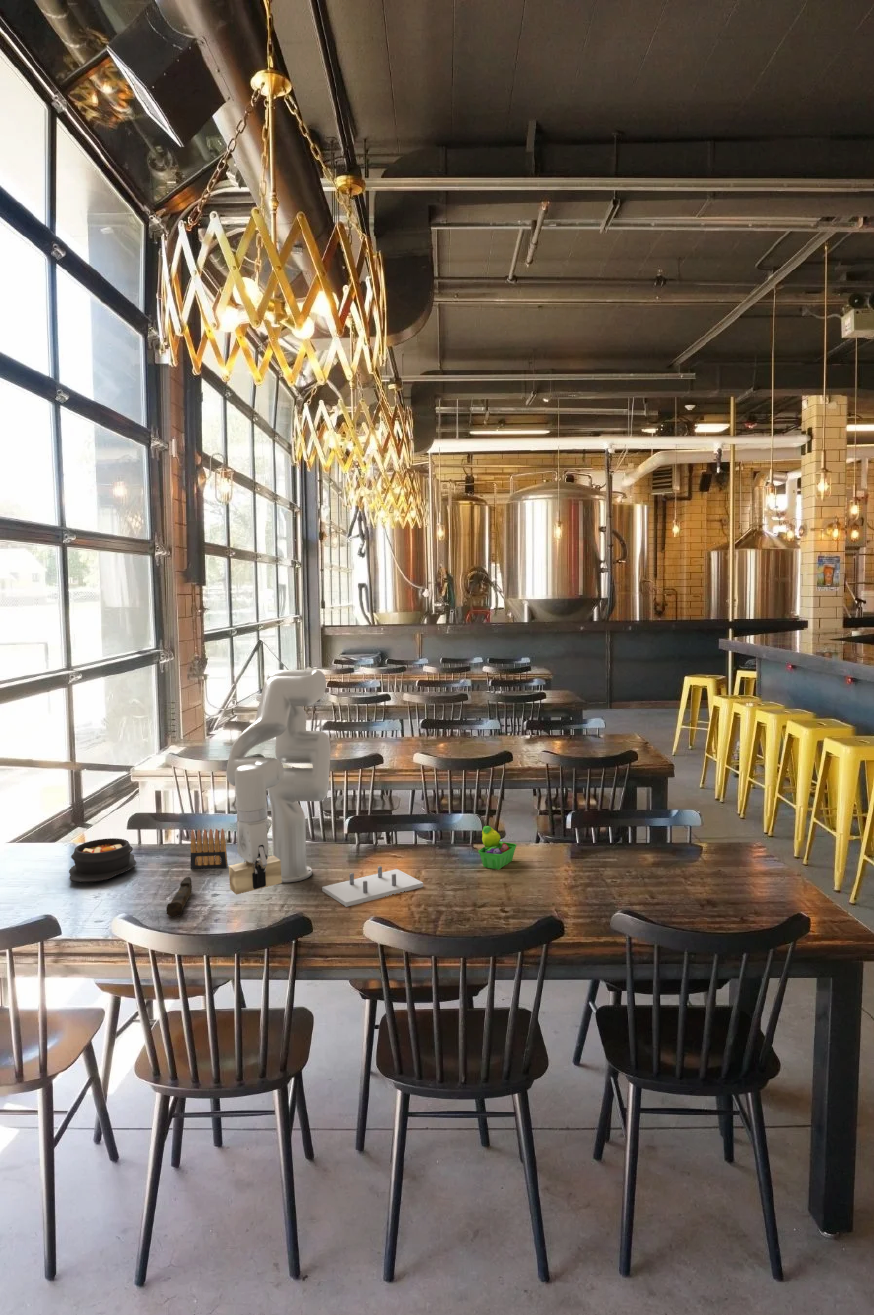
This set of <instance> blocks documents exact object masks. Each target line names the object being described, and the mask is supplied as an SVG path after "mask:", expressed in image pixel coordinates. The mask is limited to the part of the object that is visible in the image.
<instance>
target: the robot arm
mask: <svg viewBox="0 0 874 1315" xmlns="http://www.w3.org/2000/svg"><path fill="white" fill-rule="evenodd" d="M326 688H327V680H326V676H325V674H324V672H322V671H321V670H319V669H278V670H275V671H272V672H270V673H268V675H267V677H266V680H265V682H264V684H263V687H262V690H261V695H260V698H259V699H260V700H259V702H258V703H259V704H258V707H257V710H256V717H255V720H254V722H253V723H252V724H250V725H249V726H248V727H247V728H245V729H244V730H243V731H242V732H241V733H240V734H239V735H238V737H237V738H236V739H235V740H234V742H233V743H232V746H231V749H230V752H229V756H228V759H227V760H228V761H227V765H226V770H225V771H226V772H225V775H226V779H227V782H228V783H229V784H230V785H232V786H234V788H235V789H234V790H235V803H236V804H235V806H236V808H235V809H236V823H237V829H236V830H237V834H236V835H237V837H236V842H237V843H236V844H237V845H236V846H237V847H236V848H237V853H238V856H240V857H241V858H242V859H243V862H249V863H253V870H254V873H252V876H253V888H254V889H257V888H261V887H264V888H266V887H265V886H266V875H265V872H266V866H267V859H268V857H269V856H270V855H269V852H270V851H269V840H268V830H267V824H266V821H268V819H269V818H268V817H269V816H268V800H267V799H268V798H267V795H268V797H269V804H270V811H271V813H270V814H271V836H272V837H271V838H272V842H271V843H272V856H273V855H274V856H275V857H277V858H278V859H279V860H281V878H282V883H294V882H300V881H303V880H306V879H308V878H310V877H311V876H312V875H313V870H312V867H310V866H308V865H307V864H308V863H307V843H306V842H307V840H306V835H307V834H306V815H305V812H304V810H303V808H302V806H301V805H300V804H299V802H322V801H323V800H325V799H326V797H327V795H328V792H329V786H330V785H329V784H330V768H331V767H330V766H331V764H330V762H331V742H330V738H329V736H328V734H327V733H325V732H324V731H321V730H307V718H308V717H307V713H306V710H304V708H303V707H310V706H313V705H314V704H316V703H318V701H319V700H320V699H321V698H323V697H324V695H325V693H326ZM273 739H275V747H274V748H275V750H274V751H275V752H274V754H275V757H269V756H267V757H265V756H263V757H262V756H261V757H259V756H257V757H256V756H253V757H251V756H249V757H248V756H247V757H246V755H247V754H248V753H249V752H250V751H251V750H252V749H254V748H255V747H256V746H258V745H261V744H263V743H266V742H267V741H270V740H273ZM282 763H284V764H307V765H308V764H311V765H312V767H284V766H283V764H282ZM267 793H268V794H267ZM256 859H260V860H256ZM256 863H260V865H258V866H257V865H256ZM261 889H262V888H261ZM257 890H258V889H257Z"/></svg>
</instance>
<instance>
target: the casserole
mask: <svg viewBox="0 0 874 1315" xmlns="http://www.w3.org/2000/svg"><path fill="white" fill-rule="evenodd" d="M133 849H134V848H133V847H132V846H131V844H130V842H129V840H126V839H124V838H123V839H122V838H118V837H117V838H114V837H113V838H110V837H109V838H99V839H95V840H90V841H86V842H83V843H81V844H78V845H77V846H76V847H75V848H74V850H73V852H72V854H71V856H70V858H71V859H72V860H73V863H74V865H73V866H71V867H70V868H69V870H68V873H69V880H70V881H72V882H76V883H77V882H79V883H93V882H102V881H107V880H109V879H112V878H113V877H115V876H117V875H120V874H123V873H125V872H128V871H129V870H131V869H133V868H134V867H135V866H136V865H137V861H136V859H135V855H134V854H133V853H132V851H133Z"/></svg>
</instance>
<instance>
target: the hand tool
mask: <svg viewBox="0 0 874 1315" xmlns="http://www.w3.org/2000/svg"><path fill="white" fill-rule="evenodd" d="M192 882H193V881H192V878H191V876H186V877H185V878H183V879H182V880H181V881H180V883H179V884H180V885H179V886H180V887H179V888H178V890H177V892H176V893H175V895H174V896H173V898H172V900H171V902H170V903H168V904H167V906H166V915H167V916H168V917H169V916H171V917H180V916H181V915H182V914H183V910H184V907H185V906H186V904H187V901H188V899H189V898H191V897H192V890H193V889H192V888H193V887H192V886H193V885H192ZM179 915H180V916H179Z"/></svg>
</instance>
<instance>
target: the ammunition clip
mask: <svg viewBox="0 0 874 1315" xmlns="http://www.w3.org/2000/svg"><path fill="white" fill-rule="evenodd" d="M194 830H195V829H192V830H191V831H190V832H191V833H190V870H194V871H195V870H213V869H218V870H219V869H220V870H221V869H227V868H228V867H229V865H228V855H227V852H228V851H227V844H226V843H227V842H226V841H227V840H226V837H225V836H226V835H225V830H224V828H221V830H220V831H221V832H220V833H219V830H218V828H215V831H214V833H213V830H212V829H211V828H209V833H207V830H206V828H204V829H203V833H201V830H200V829H197V832H196V833H195V831H194Z"/></svg>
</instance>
